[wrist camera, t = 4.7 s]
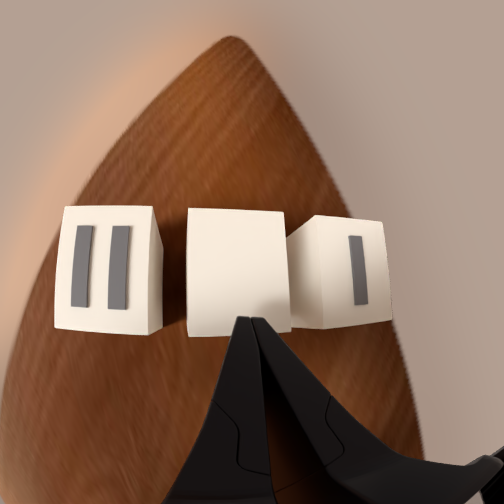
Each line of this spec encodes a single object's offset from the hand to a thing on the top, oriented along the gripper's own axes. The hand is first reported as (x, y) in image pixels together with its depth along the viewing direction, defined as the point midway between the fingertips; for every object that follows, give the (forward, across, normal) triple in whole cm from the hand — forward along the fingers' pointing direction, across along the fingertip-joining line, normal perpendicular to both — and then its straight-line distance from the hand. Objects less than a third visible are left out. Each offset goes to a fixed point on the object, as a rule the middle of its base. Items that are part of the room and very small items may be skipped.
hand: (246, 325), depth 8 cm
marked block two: (+7, +6, +5) cm, 11 cm away
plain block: (+8, 0, +5) cm, 9 cm away
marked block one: (+8, -6, +4) cm, 11 cm away
